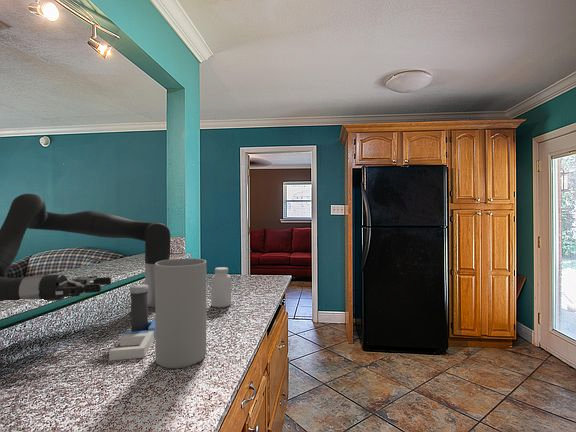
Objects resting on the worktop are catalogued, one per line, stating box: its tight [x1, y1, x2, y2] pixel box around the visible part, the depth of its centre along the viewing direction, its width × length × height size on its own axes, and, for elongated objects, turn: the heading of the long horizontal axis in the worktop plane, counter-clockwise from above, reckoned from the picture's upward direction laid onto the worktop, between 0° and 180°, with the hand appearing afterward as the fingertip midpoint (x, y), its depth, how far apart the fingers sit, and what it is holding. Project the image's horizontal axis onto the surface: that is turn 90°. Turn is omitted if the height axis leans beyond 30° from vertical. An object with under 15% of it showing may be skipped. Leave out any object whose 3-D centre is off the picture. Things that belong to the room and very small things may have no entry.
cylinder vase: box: [154, 257, 207, 369], centre depth 81 cm, size 12×12×25 cm
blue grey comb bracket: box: [108, 319, 155, 362], centre depth 90 cm, size 8×21×3 cm, turn 12°
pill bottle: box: [210, 266, 232, 308], centre depth 126 cm, size 8×8×15 cm
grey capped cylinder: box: [129, 284, 149, 332], centre depth 95 cm, size 5×5×15 cm
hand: (105, 284), depth 93 cm, fingers open, 8 cm apart
